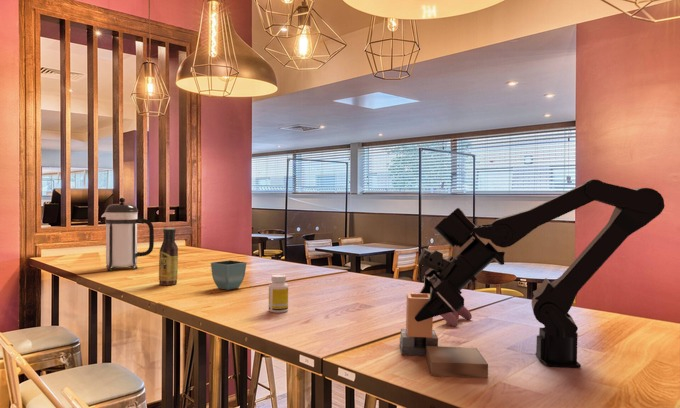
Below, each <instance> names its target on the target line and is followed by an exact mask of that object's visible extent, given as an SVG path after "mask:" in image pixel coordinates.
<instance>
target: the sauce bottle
mask: <svg viewBox="0 0 680 408" xmlns="http://www.w3.org/2000/svg"><path fill="white" fill-rule="evenodd" d="M162 230H163V241H162V244H161V245H160V246H161V247H160V249H159V254H158V255H159V257H158V258H159V259H158V261H159V262H158V263H159V264H158V284H159V285H161V286H173V285H177V284H178V283H177V282H178V275H179V274H178V273H179V271H178V270H179V269H178V268H179V248H178V244H177V243H176V242H175V241H176V239H175V238H176V235H175V234H176V232H177V231H176V230H177V229H176V228H174V227H166V228H163V229H162Z"/></svg>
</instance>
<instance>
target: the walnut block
mask: <svg viewBox="0 0 680 408" xmlns="http://www.w3.org/2000/svg"><path fill="white" fill-rule="evenodd" d="M425 359H426V363H427V365H428V368H429V369H428V370H429V371H430V375H431V376H433V377H452V378H453V377H454V378H455V377H456V378H478V379H479V378H480V379H481V378H482V379H489V376H488V375H489V364H488V362H487V361H486V359H485V357H484V356H483V354H482V353H481V352H480V350H479V348H478V347H464V346H439V345H438V346H426V356H425Z"/></svg>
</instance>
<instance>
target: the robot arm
mask: <svg viewBox="0 0 680 408" xmlns="http://www.w3.org/2000/svg"><path fill="white" fill-rule="evenodd" d="M594 201H596V202H599V203H602V204H605V205H609V206H611V207H614V209H613V211H612V212H611V215H610V217H609V220H608V222H607V223H606V225H604V227H603V228H602V229H601V230H600V232H599V233H598V234H597V235H596V236H595V237H594V238H593V240H592V241H590V243H589V244H588V245H587V246H586V247H585V248H584V249H583V251H581V253H580V254H579V255H578V256H577V258H575V259H574V261H572V263H571V264H570V265H569V267H567V268H566V270H564V272H563V273H562V274H561V275H560V276H559V277H557V278H556V279H555V280H553V281H550V280H549V279H548V278H547V277H545V278H544V279H543V281H542V283H541V284H540V286H539V287H538V288H537V289H536V290H533V291H532V295H533V297H532V298H531V309H532V312H533V315H534V317H535V319H536V321H537V322H538V323H540V324H542V325H543V327H539V331H538V333H539V334H537V335H536V348H535V350H536V352H535V356H536V357H537V358H538V359H539V360H540V361H541V362H542V363H543V364H544V365H545V366H546V367H547V366H548V367H567V368H568V367H569V368H581V366H582V365H581V363H580V362H578V335H579V334H578V330H579V329H578V328H579V327H578V326H577V324H576V322H575V321H574V318H573V317H572V315H571V314H569V312H570V310H571V308H572V306H573V304H574V302H575V300H576V298H577V296H578V295H577V294H578V293H579V292H580V291H581V289H582V288H583V287H584V286H585V285H586V284H587V283H588V281H590V279H592V278H593V276H594V275H595V274H596V273H597V272H598V270H599V269H600V268H601V267H602V266H603V265H604V264H605V263H606V261H607V260H608V259H609V258H610V257H611V256H612V255H613V253H615V252H616V250H617V249H618V248H619V247H620V246H621V245H622V244H623V243H624V242H625V241H626V239H627V238H628V237H630V236H631V235H632V234H634V233H636V232H637V231H639V230H641V229H642V228H644V227H645V226H647V225H648V224H649V223H650V222H652V221H653V220H654V219H656V218H657V217H659V216H660V215H661V214H662V213H663V211H664V210H665V206H666V205H665V200H664V198H663V196H662V194H661V193H660V192H659V191H658V190H656V189H653V188H649V187H639V188H630V187H625V186H620V185H617V184H612V183H608V182H604V181H602V180H600V179H588V180H586V181H584V182H583V183H582V184H580V185H579V186H576V187H574V188H572V189H570V190H568V191H566V192H564V193H562V194H560V195H557V196H555V197H553V198H551V199H549V200H547V201H545V202H543V203H540V204H538V205H537V206H534V207H531V208H530V209H528V210H524V211H520V212H516V213H513V214H509V215H507V216H502V217H500V218H497V219H495V220H494V221H492V222H491V223H487V224H481V223H480V224H478V225H475V224H474V223H473V221H471V219H469V218H468V217H467V216H466V214H465V213H464V211H463V210H461V208H460V207H457V208H456V209H455V210H453V211H452V212H451V213H450V214H449V215H448V216H446V217H444V218H443V219H442V220H440V222H439V223H438V224H436V226H435V227H434V228H433V230H435V231H436V232H437V233H438V234H439V236H441V237H442V238H443V239H444V240H445V241H446V242H447V243H448V245H450V246H451V247H452V248H455V247H457V248H459V249H461V248H462V247H463V246H464V245H465V244H466V243H467V242H468V241H469V240H470V239H471V238H472V239H473V240H472V241H471V242H469V244H467V246H466V247H464V248H463V249H462V250H461V251H460V252H459V253H458V254H457V255H456V256H455V255H453V256H452V255H451V256H449V257H448V258H445V257H444V255H443V254H444V253H442V252H440V251H438V250H437V249H435V250H433V251H431V250H429V249H428V248H426V247H424V248H422V251H421V253H420V255H419V256H418V258H417V260H416V261H417V262H418V264H419V265H422V266H423V267H428V269H427V270H426V271H425V272H424V274H425V275H423V287H422V288H421V290H420V292H419V293H424V294H430V298H429V299H428V301H427V302H426V303H425V304H424V306H423V307H422V308H421V309H420V311H419V312H418V313H417V315H416V316H415V317H414V318H415V320H416V321H417V322H420V321H423V320H426V319H429V318H432V317H433V318H434V317H438V316H440V315H442V314H446V313H449V312H454V310H453V309H452V307H453V308H454V309H455V310H456V311H459V310H460V309H461V308H462V307H463V306H464V307H465V298H464V297H463V295H462V294H463V292H462V290H463V289H464V288H465V287H466V286H467V285H468V284H469V283H471V282H472V283H474V282H476V280H477V279H478V278H477V276H478V275H479V274H480V273H481V272H483V271H484V270H485V268H487V267H488V266H489V265H490V264H491V263H492V262H493V261H495V262H496V263H497V264H498V265H502V266H503V265H504V264H505V254H506V252H505V251H498V249H497V248H496V247H495V246H497V247H499V248H503V249H505V248H508V247H511V246H513V245H515V244H516V243H518V242H519V241H520V240H522V239H523V238H524V237H526V236H528V235H529V234H530V233H531V232H532V231H535V229H537V228H538V227H540V226H543V225H544V224H547V223H549V222H552V221H553V220H555V219H557V218H559V217H561V216H563V215H566V214H569V213H571V212H573V211H575V210H576V209H579V208H581V207H583V206H585V205H587V204H590V203H591V202H594ZM481 239H485V240H490V242H491V243H492V244H494V245H495V246H494V245H492V244H491V243H490V242H489V241H487V242H486V243H484V242H483V241H482V240H481Z"/></svg>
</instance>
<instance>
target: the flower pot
mask: <svg viewBox="0 0 680 408" xmlns="http://www.w3.org/2000/svg"><path fill="white" fill-rule="evenodd" d="M210 268H211V275H212V279H213V282H214V284H215V285H216V287H217V288H218V289H222V290H226V291H229V290H234V289H239V288H240V287H241V285H242V284H243V281H244V278H245V275H246V268H247V262H245V261H239V260H232V259H231V260H222V261H221V260H220V261H215V262H213V261H212V262H210Z"/></svg>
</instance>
